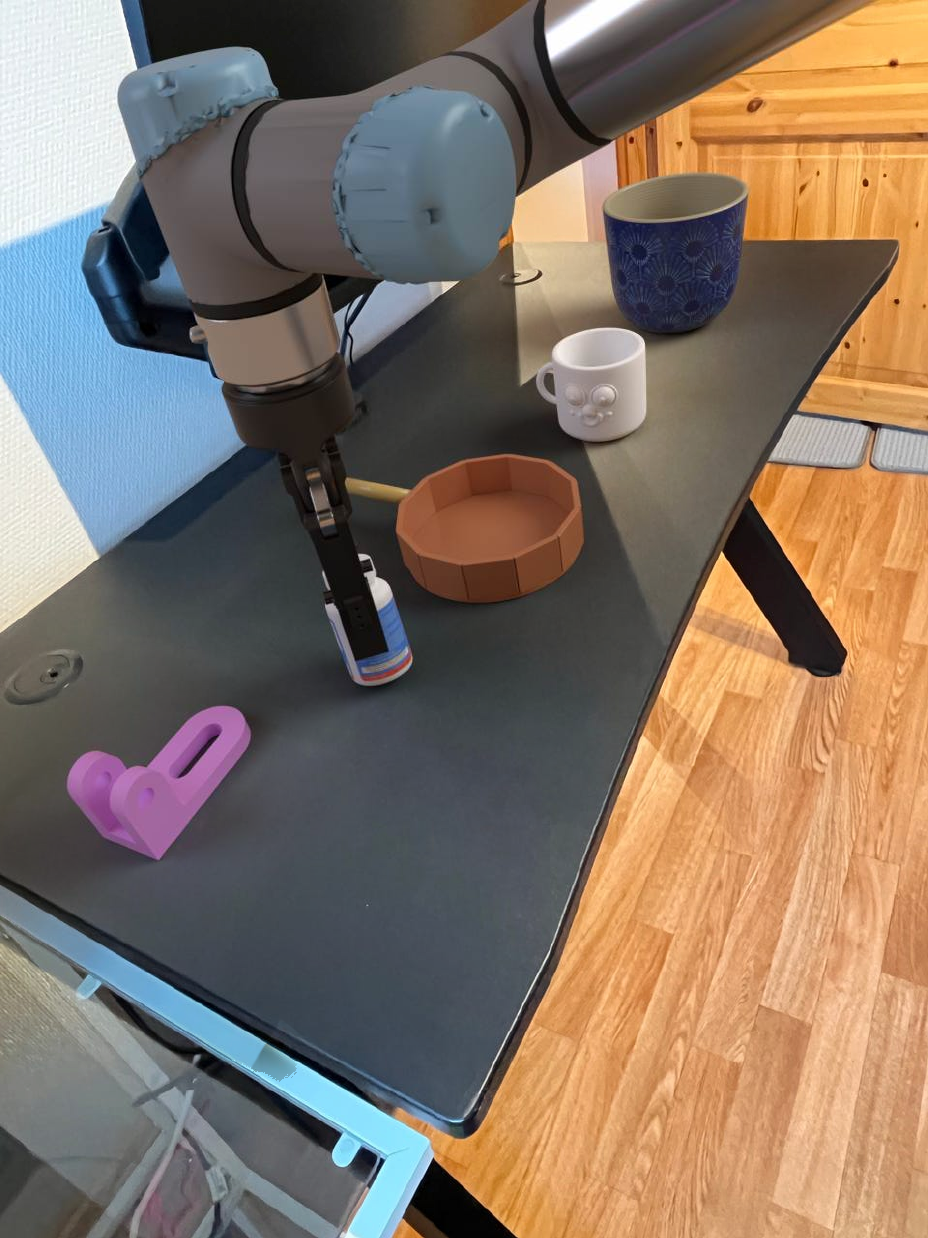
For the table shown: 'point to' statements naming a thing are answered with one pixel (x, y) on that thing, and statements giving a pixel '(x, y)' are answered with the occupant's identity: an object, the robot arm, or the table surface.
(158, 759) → the bracket
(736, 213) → the planter
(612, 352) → the mug
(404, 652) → the pill bottle
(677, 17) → the robot arm
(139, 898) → the table surface
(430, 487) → the pan
